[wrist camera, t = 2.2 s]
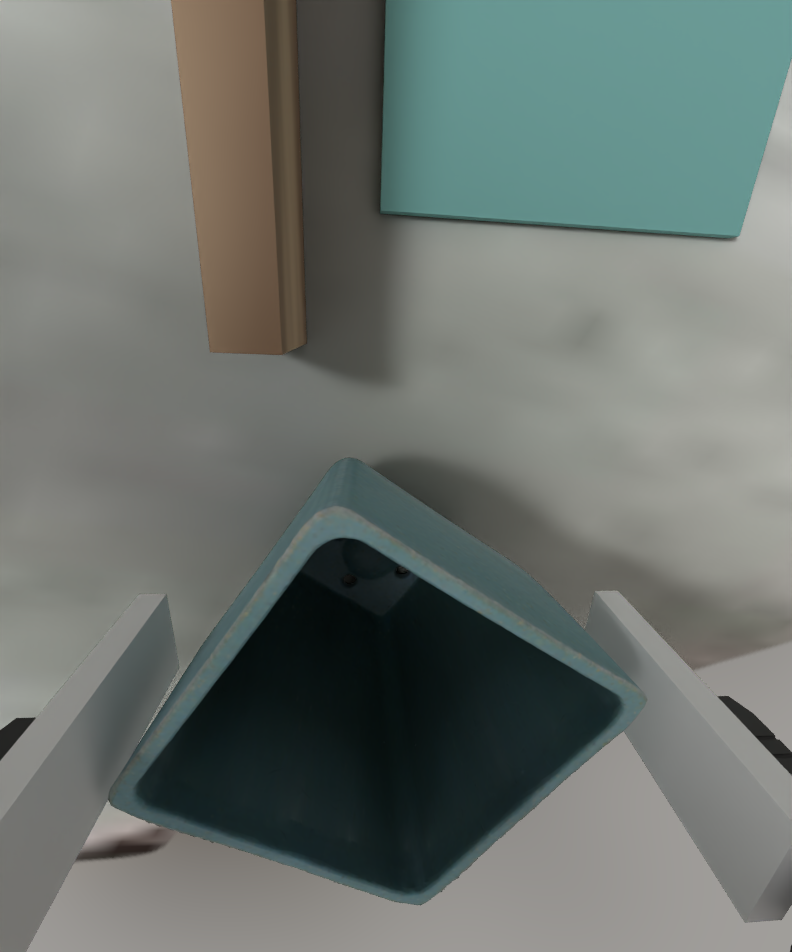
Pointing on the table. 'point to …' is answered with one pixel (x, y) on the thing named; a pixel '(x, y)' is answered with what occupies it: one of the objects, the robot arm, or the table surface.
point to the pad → (581, 110)
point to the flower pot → (377, 700)
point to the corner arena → (245, 168)
